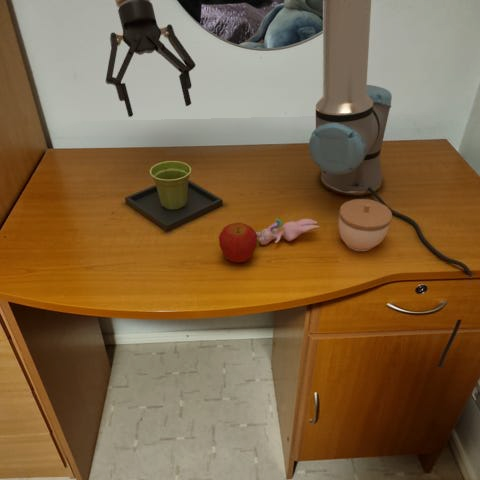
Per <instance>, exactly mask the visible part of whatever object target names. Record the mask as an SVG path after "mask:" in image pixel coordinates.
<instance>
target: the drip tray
mask: <svg viewBox="0 0 480 480" xmlns="http://www.w3.org/2000/svg"><path fill="white" fill-rule="evenodd" d="M124 200H125V204H126V205H127V206H129V207H130V208H132V209H133V210H134V211H135V212H137V213H139V214H140V215H142V216H143V217H144V218H146V219H147V220H149V221H150V222H151V223H153V224H154V225H156V226H157V227H159V228H160V229H161V230H163V231H164V232H166V233H169V232H171V231H173V230H175V229H177V228H180V227H181V226H183V225H185V224H188V223H190V222H191V221H194V220H196V219H198V218H200V217H202V216H204V215H206V214H208V213H210V212H213V211H215V210H217V209H219V208H221V207H223V204H224V202H223V199H222V198H220V197H219V196H217V195H215V194H214V193H212V192H210V191H208V190H207V189H206V188H203V187H202V186H200V185H198V184H197V183H194V182H193V181H191V180H190V179H188V190H187V204H186V205H185V206H183V207H181V208H180V209H176V210H170V209H166V208H165V207H163V206H162V205H161V202H160V198H159V194H158V191H157V187H156V184H154V185H152V186H149V187H147V188H144V189H142V190H140V191H137V192H135V193H132V194H130V195H128V196H125V197H124Z"/></svg>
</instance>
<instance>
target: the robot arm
mask: <svg viewBox="0 0 480 480" xmlns="http://www.w3.org/2000/svg"><path fill="white" fill-rule="evenodd" d="M115 6H116V7H117V8H118V10H117V14H118V16H119V21H120V24H121V25H120V26H121V29H122V33H116V32H114V31H113V32H111V33H110V36H109V42H110V52H109V53H110V54H109V60H108V65H107V71H106V75H105V76H106V77H105V83H106V84H107V85H111V86H112V85H113V86H114V87H115V89H116V92H117V97H118V100H119V102H124V105H125V109H126V112H127V116H128V117H129V118H132V117H133V115H134V112H133V108H132V104H131V101H130V97H129V93H128V89H127V86H126V82H122V81H123V79H124V77H125V74H126V72H127V69H128V67H129V65H130V63H131V61H132V59H133V57H134V54H137V55H138V56H142V55H144V54H153V53H154V52H156V53H158V54H159V55H160V56H162V57H163V58H164V59H165V60H166V61H167V62H168V63H169V64H171V65H172V66H173V67H174V68H175V69H176V70H177V71H178V72H179V73H180V74H179V76H178V77H179V83H180V86H181V87H180V88H181V91H182V95H183V100H184V104H185V107H189V106H191V105H192V99H191V95H190V91H189V90H191V89H192V81H191V76H190V72H191V71H193V70H194V68H196V63H195V61H194V60H193V59H192V56H190V54H189V53H188V51H187V50H186V48H185V47H184V46H183V44H182V42H181V41H180V40H179V38H178V37H177V35H176V34H175V31H174V27H173V25H172V24H170V23H168V24H167V26H164V27H161V28H160V27H159V25H158V22H157V19H156V14H155V10H154V5H153V3H152V2H151V0H115ZM371 12H372V0H322V97H321V98H320V99H319V100H318V101H317V102H316V103H315V129H314V130H313V132H312V133H311V134H310V135H311V136H310V138H309V140H308V153H309V155H310V158H311V160H312V162H313V163H314V164H315V165H316V166H317V167H318V168H319V169H320V170H321V175H320V183H321V184H322V186H323V187H324V188H326V190H328V191H330V192H332V193H334V194H337V195H340V196H345V197H355V198H356V197H365V196H370V195H372V196H373V197H374V198H375V199H376V200H377V202H379V203H382V204H383V205H385V206H387V207H388V208H389V209H390V211H391V213H392V216H393V215H394V216H396V217H397V218H400V219H403V220H404V221H407V222H408V223H410V224H411V225H412V226H413V227H414V228H415V230H416V232H417V235H418V237H419V238H420V240H421V241H422V242H423V243H424V246H426V247H427V248H428V249H429V250H430V251H431V252H432V253H433V254H435V255H436V256H437V257H438V258H440V259H441V260H443V261H445V262H447V263H450V264H453V265H456V266H458V267H461V269H463V270H464V271H465V273H466V275H467V276H468V277H473V274H472V271H471V269H470V268H469V267H468V266H467V265H466V264H465V263H464V262H462V261H459V260H456V259H453V258H451V257H447V256H446V255H444V254H443V253H441V252H440V251H439V250H437V249H436V248H435V247H434V246H433V245H432V244H431V243H430V242H429V241H428V240H427V239H426V237H425V236H424V235H423V231H421V228H420V226H419V225H418V223H417V222H416V221H415V220H414V219H413V218H411V217H410V216H407V215H404V214H402V213H400V212H397V211H396V210H393V209H392V208H391V207H389V206H388V205H387V204H386V202H385V201H384V200H383V199H382V197H380V195H378V193H377V192H378V191H379V190H380V188H381V187H382V182H383V173H382V165H381V151H382V146H383V143H384V138H385V133H386V132H385V131H386V128H387V125H388V119H389V115H390V111H391V110H390V109H391V108H392V100H393V96H392V95H393V94H392V93H391V91H390V90H388V89H387V88H384V87H382V86H377V85H371V84H368V71H369V70H368V67H369V53H370V52H369V51H370V32H371V14H372V13H371ZM161 36H163V38H164V39H166V40H168V42H169V43H170V45H171V46H172V48H173V49H174V51H175V52H176V54H177V55H175V54H174V53H173V52H171V51H170V49H168V48H167V47H166V45H165V44H164V43H163V42H162V41H161V40H160V39H161ZM122 42H123V43H124V44H125V45H127V46H128V49H127V53H126V55H125V57H124V59H123V61H122V63H121V65H120V68H119V70H118V72H117V75H116V76H115V77H114V76H113V75H114V70H115V64H116V60H117V59H116V58H117V52H118V47H119V46H121V43H122ZM178 56H179V58H178ZM462 321H463V319H460V318H459V319H457V321H456V323H455V325H454V328H453V330H452V333H451V335H450V337H449V339H448V341H447V344H446V345H445V347H444V350H443V352H442V354H441V357H440V359H439V361H438V364H437V368H442V366H443V363H444V361H445V358H446V356H447V354H448V352H449V350H450V348H451V346H452V343H453V342H454V339H455V337H456V335H457V334H458V331H459V328H460V326H461V323H462Z"/></svg>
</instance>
